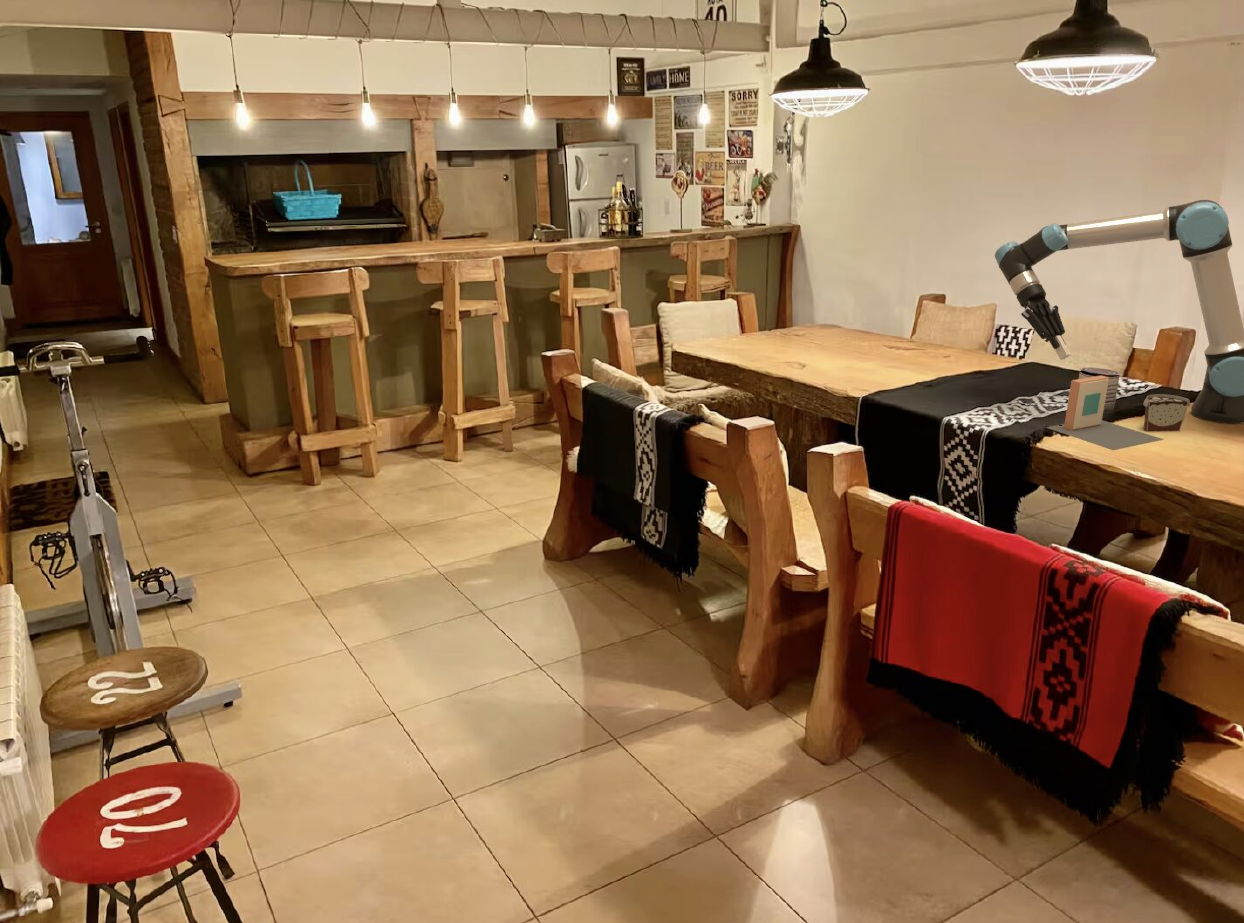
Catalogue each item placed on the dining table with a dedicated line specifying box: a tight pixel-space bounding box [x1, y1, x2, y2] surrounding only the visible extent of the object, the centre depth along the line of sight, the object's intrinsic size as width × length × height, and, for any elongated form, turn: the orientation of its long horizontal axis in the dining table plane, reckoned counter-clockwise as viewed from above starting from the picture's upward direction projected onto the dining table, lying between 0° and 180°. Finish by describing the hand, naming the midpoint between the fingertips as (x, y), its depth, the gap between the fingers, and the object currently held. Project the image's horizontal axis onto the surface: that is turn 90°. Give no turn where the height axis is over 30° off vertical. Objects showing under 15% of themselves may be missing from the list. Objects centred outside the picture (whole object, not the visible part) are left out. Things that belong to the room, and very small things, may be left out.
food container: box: [1142, 393, 1191, 432], centre depth 263 cm, size 12×6×10 cm, turn 92°
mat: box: [1045, 419, 1165, 451], centre depth 260 cm, size 20×22×1 cm
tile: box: [1063, 375, 1109, 431], centre depth 263 cm, size 12×3×14 cm, turn 115°
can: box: [1078, 366, 1121, 411], centre depth 285 cm, size 11×11×12 cm
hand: (1065, 357), depth 267 cm, fingers closed
